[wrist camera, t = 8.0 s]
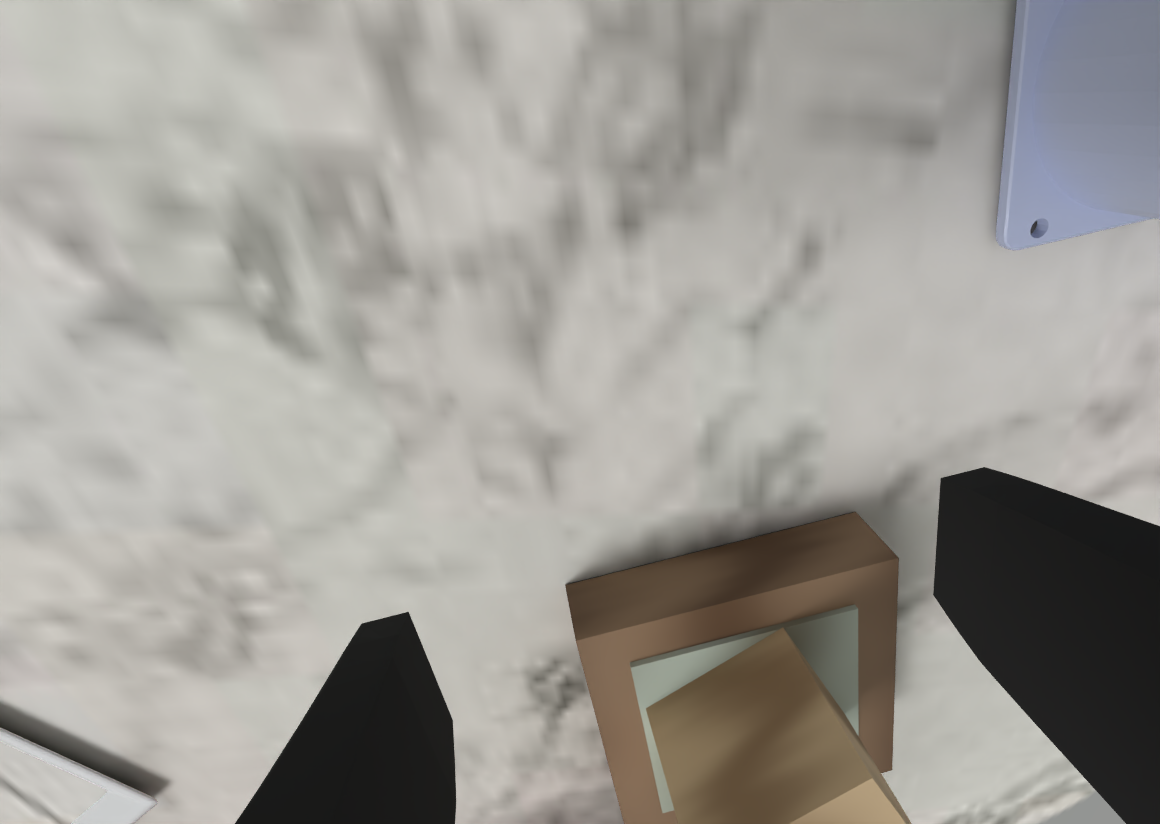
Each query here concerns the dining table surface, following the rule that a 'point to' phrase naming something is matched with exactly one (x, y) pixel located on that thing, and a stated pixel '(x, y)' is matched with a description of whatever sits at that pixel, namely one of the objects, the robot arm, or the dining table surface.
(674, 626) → the walnut picture frame
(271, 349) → the dining table surface
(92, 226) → the dining table surface
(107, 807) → the dessert
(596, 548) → the dining table surface
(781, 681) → the oak cube
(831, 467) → the dining table surface
